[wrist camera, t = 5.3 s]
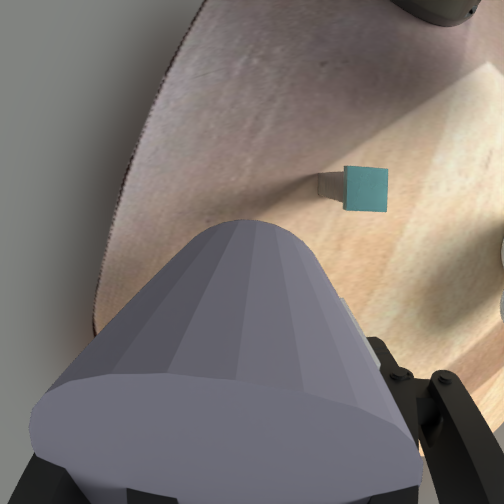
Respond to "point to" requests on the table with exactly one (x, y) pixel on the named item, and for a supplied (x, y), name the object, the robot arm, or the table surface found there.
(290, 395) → the container
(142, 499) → the robot arm
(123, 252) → the table surface
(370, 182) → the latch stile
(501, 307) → the mug
